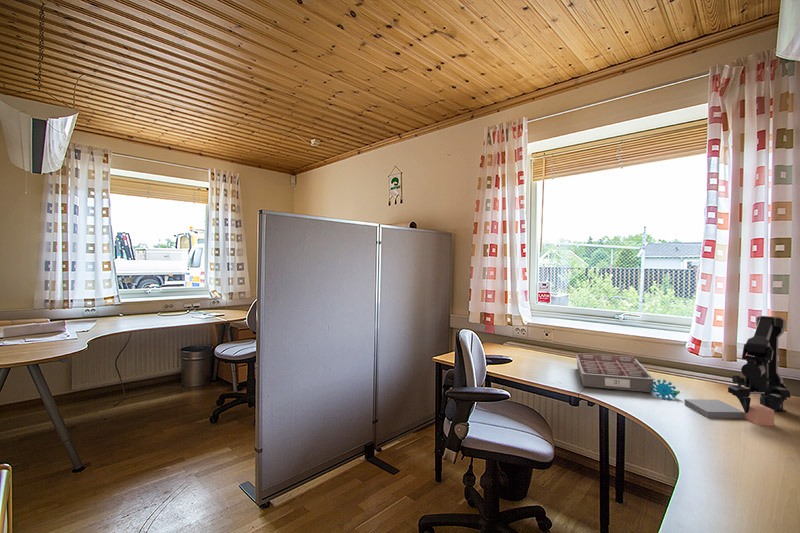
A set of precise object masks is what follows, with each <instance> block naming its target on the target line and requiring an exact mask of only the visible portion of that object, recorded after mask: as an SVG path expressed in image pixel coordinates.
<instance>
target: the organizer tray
mask: <svg viewBox="0 0 800 533" xmlns="http://www.w3.org/2000/svg"><path fill="white" fill-rule="evenodd" d="M575 358H576V365H577V370H578V373H580V374H579V377H580V376H581V377H580V380H581V382H582V386H583V387H590V388H600V389H601V388H602V389H609V390H611V389H612V390H613V389H614V390H623V391H633V392H634V391H635V392H645V393H653V392H652V390H653V389H654V388H651V386H652V385H654V384H653V382H654V381H655V380H656V378H654V376H653V375H652V374H651V373H650V372H649V371H648V370H647V369H646V368H645V367H644V366H643V365H642V363H640V362H639V361H638V359H636V358H635V356H633V355H618V354H617V355H616V354H603V353H588V352H587V353H584V352H578V353H577V355H575Z"/></svg>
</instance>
